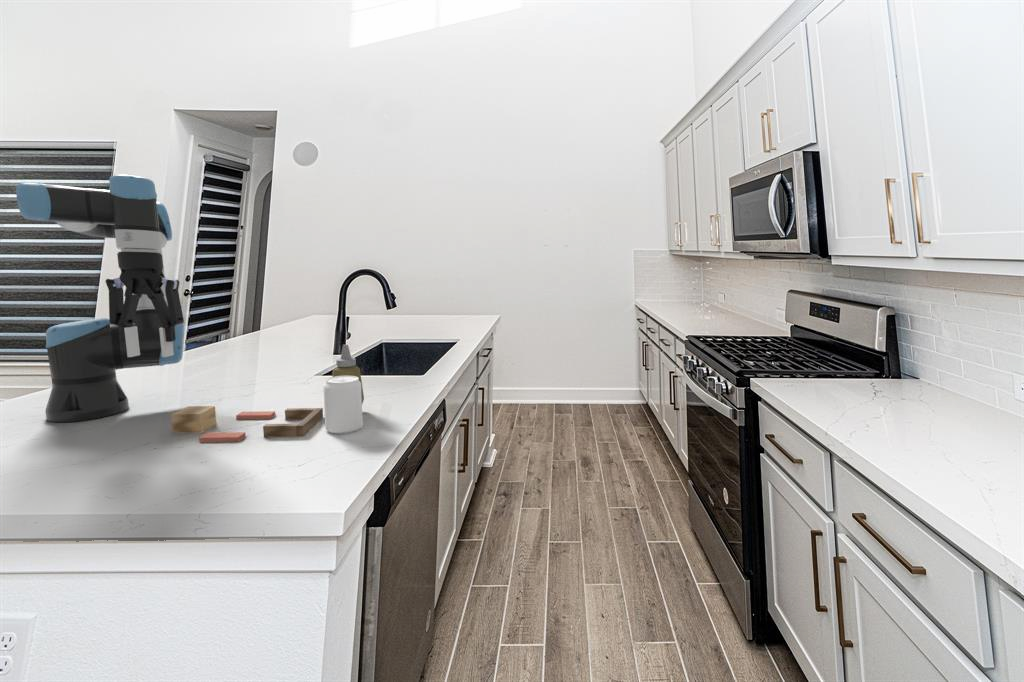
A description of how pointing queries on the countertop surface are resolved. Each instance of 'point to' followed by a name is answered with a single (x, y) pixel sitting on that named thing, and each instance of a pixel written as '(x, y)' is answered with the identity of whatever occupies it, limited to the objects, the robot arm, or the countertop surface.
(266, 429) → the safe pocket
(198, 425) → the oak block
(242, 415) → the mats
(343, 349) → the squeeze bottle
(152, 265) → the robot arm
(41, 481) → the countertop surface
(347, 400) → the beverage can
